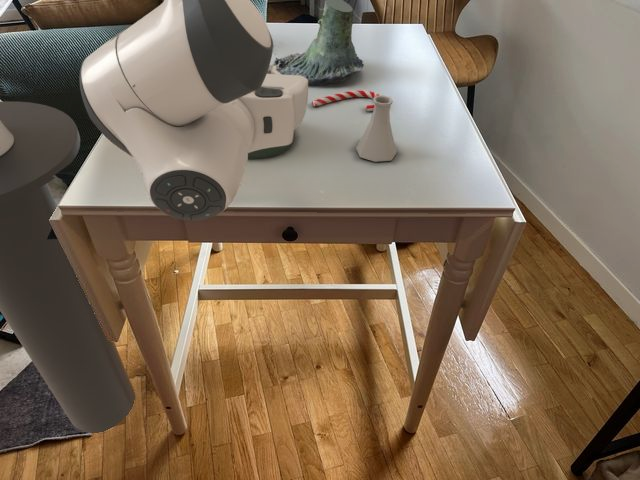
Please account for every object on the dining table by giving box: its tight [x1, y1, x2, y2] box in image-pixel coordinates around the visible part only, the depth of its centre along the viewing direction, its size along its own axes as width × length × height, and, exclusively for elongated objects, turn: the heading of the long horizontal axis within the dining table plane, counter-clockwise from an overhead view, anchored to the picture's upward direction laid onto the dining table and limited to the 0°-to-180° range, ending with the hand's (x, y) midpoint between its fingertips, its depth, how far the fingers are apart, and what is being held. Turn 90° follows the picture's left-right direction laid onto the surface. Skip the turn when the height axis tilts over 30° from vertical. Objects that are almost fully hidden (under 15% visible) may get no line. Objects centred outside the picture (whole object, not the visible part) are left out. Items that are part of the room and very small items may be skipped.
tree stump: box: [272, 0, 365, 86], centre depth 107 cm, size 18×20×18 cm
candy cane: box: [311, 90, 381, 112], centre depth 99 cm, size 8×1×15 cm
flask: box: [355, 94, 397, 163], centre depth 83 cm, size 7×7×10 cm
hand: (237, 69), depth 67 cm, fingers open, 8 cm apart
